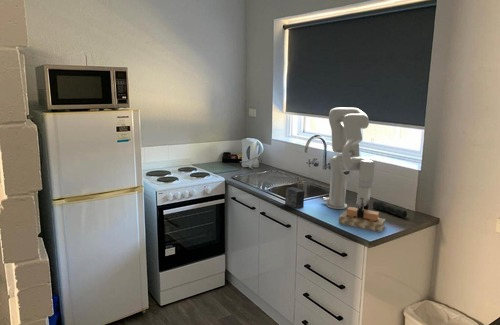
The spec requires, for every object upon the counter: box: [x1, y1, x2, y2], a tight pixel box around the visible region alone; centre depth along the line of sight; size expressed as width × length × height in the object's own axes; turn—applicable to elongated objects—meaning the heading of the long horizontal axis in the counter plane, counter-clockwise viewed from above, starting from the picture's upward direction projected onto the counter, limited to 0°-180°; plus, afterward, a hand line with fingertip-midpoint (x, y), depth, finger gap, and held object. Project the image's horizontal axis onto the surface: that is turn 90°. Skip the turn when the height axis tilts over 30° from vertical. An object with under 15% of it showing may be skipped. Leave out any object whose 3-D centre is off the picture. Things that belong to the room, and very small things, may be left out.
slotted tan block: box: [338, 210, 386, 233], centre depth 205 cm, size 22×10×4 cm, turn 60°
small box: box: [284, 186, 305, 209], centre depth 233 cm, size 11×6×10 cm, turn 35°
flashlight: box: [372, 200, 408, 219], centre depth 226 cm, size 5×21×5 cm, turn 34°
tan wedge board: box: [346, 206, 380, 222], centre depth 205 cm, size 16×5×8 cm, turn 60°
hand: (362, 214), depth 205 cm, fingers open, 9 cm apart
